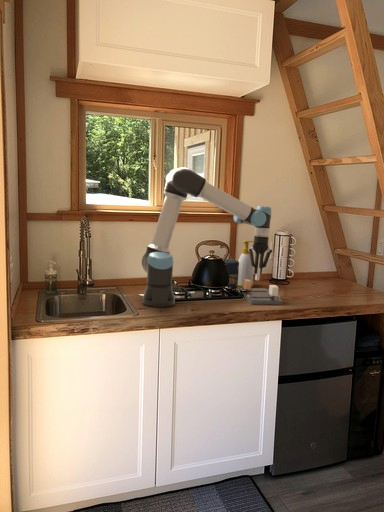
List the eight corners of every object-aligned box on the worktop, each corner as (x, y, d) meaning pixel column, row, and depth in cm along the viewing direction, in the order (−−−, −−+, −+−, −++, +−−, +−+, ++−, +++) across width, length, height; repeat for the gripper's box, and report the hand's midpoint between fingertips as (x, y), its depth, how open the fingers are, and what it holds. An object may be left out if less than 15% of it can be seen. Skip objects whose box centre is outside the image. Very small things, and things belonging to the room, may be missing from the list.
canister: (236, 294, 230) (238, 260, 227) (218, 292, 232) (220, 259, 229) (238, 290, 239) (240, 258, 237) (221, 288, 241) (223, 256, 239)
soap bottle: (254, 288, 248) (258, 242, 244) (234, 286, 248) (237, 241, 244) (252, 283, 259) (256, 240, 255) (233, 282, 259) (236, 239, 255)
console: (250, 304, 211) (251, 298, 211) (237, 291, 236) (237, 286, 236) (282, 304, 214) (282, 298, 213) (265, 292, 239) (266, 286, 239)
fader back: (245, 291, 227) (245, 281, 226) (242, 289, 232) (243, 279, 231) (250, 291, 228) (251, 281, 227) (247, 289, 232) (248, 279, 232)
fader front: (271, 297, 216) (272, 287, 215) (268, 295, 221) (269, 284, 220) (277, 297, 216) (278, 287, 216) (274, 295, 221) (275, 285, 220)
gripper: (251, 235, 222) (247, 280, 226) (275, 237, 224) (271, 282, 228) (247, 234, 230) (243, 278, 233) (271, 235, 232) (266, 279, 235)
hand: (257, 279), depth 230 cm, fingers closed
